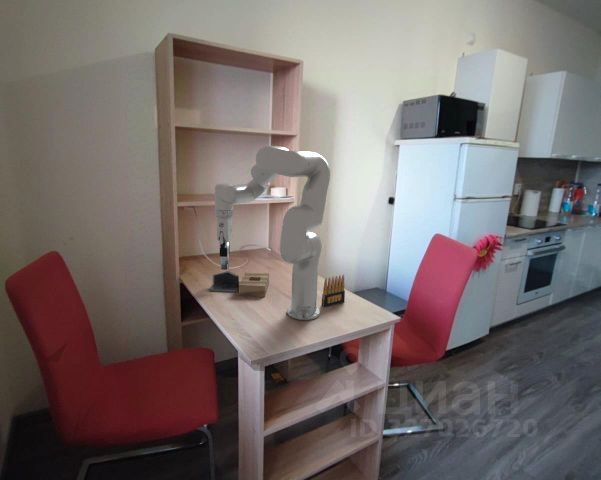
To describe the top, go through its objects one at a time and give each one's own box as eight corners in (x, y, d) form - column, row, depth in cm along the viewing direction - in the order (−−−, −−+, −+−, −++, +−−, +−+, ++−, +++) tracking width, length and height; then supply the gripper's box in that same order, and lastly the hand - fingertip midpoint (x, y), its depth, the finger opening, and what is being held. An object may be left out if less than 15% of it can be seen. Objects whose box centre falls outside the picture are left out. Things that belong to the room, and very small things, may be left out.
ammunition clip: (341, 300, 149) (343, 273, 146) (344, 302, 148) (346, 274, 145) (321, 305, 143) (322, 277, 141) (324, 307, 142) (325, 279, 139)
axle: (228, 269, 154) (227, 243, 151) (219, 269, 154) (219, 242, 151) (229, 267, 158) (229, 241, 155) (221, 266, 158) (221, 240, 155)
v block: (209, 291, 154) (209, 278, 153) (215, 282, 164) (215, 270, 163) (237, 292, 154) (237, 279, 152) (241, 283, 164) (241, 271, 163)
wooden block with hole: (264, 297, 150) (265, 285, 149) (239, 296, 150) (238, 284, 149) (269, 283, 165) (269, 273, 164) (245, 282, 166) (245, 272, 164)
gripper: (228, 217, 142) (229, 261, 146) (236, 210, 158) (237, 250, 162) (210, 216, 142) (211, 260, 146) (220, 209, 158) (220, 249, 162)
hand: (224, 254), depth 154 cm, fingers closed on axle, 3 cm apart
